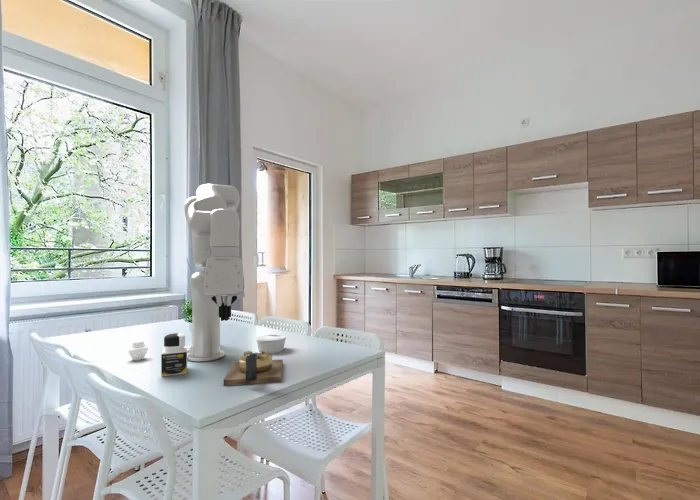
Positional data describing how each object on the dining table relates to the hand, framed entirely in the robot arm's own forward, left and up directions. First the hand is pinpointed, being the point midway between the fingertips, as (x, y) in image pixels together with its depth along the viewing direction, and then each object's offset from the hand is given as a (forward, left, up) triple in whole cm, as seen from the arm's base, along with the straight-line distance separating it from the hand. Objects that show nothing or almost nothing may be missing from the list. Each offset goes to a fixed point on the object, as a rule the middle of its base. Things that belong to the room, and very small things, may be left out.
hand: (225, 319), depth 99 cm
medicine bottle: (-19, +19, -19) cm, 33 cm away
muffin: (-37, +37, -19) cm, 56 cm away
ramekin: (+10, +40, -19) cm, 46 cm away
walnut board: (+7, +12, -19) cm, 24 cm away
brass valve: (+7, +8, -17) cm, 20 cm away
